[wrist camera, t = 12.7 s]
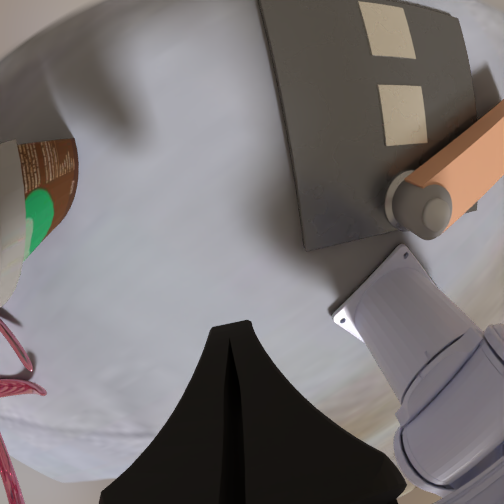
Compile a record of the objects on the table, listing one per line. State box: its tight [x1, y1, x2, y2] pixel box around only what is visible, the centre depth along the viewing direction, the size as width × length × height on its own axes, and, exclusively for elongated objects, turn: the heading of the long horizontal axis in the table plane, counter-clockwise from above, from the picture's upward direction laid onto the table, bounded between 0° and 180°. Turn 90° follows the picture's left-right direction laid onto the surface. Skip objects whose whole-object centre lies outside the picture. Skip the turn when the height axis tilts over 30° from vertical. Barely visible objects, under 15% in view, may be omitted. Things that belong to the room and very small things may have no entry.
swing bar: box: [392, 99, 504, 240], centre depth 15 cm, size 17×4×3 cm, turn 126°
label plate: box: [258, 0, 477, 251], centre depth 16 cm, size 16×17×1 cm
